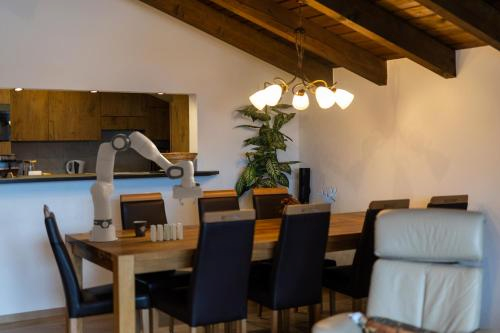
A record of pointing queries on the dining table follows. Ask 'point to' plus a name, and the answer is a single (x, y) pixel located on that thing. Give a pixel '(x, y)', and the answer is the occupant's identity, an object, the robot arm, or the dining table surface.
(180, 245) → the dining table surface
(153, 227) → the domino
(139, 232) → the coffee mug
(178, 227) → the domino
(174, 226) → the domino
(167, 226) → the domino
